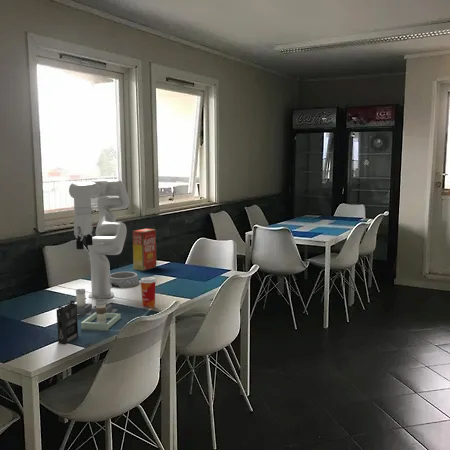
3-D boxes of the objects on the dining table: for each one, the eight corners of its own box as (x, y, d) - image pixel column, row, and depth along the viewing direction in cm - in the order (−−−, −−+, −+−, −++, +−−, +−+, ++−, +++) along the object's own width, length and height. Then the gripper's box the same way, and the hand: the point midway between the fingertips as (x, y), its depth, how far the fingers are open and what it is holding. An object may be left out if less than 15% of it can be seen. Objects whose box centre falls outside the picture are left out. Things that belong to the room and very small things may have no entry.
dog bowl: (129, 289, 277) (129, 279, 276) (100, 286, 283) (100, 277, 282) (144, 281, 293) (144, 272, 292) (117, 279, 299) (117, 270, 298)
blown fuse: (99, 321, 221) (98, 299, 220) (108, 321, 220) (107, 299, 219) (95, 324, 217) (94, 301, 216) (104, 324, 216) (103, 302, 215)
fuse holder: (74, 309, 241) (74, 301, 240) (118, 311, 237) (118, 304, 236) (64, 315, 231) (64, 308, 231) (109, 318, 227) (109, 310, 227)
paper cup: (139, 305, 246) (138, 277, 244) (154, 303, 249) (153, 275, 247) (143, 310, 239) (142, 281, 237) (158, 307, 242) (158, 279, 240)
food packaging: (143, 271, 318) (142, 231, 314) (132, 269, 323) (131, 230, 319) (157, 267, 329) (156, 229, 325) (146, 265, 334) (145, 228, 330)
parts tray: (95, 318, 226) (95, 312, 226) (120, 320, 224) (120, 313, 224) (81, 329, 213) (81, 322, 212) (108, 331, 211) (107, 324, 210)
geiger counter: (70, 334, 207) (68, 299, 204) (80, 335, 205) (78, 300, 203) (54, 343, 197) (52, 306, 195) (64, 345, 195) (62, 307, 193)
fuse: (79, 309, 237) (78, 288, 236) (87, 309, 236) (86, 288, 235) (75, 311, 233) (74, 290, 232) (83, 312, 232) (82, 291, 231)
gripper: (83, 208, 243) (85, 243, 245) (66, 213, 226) (68, 250, 229) (98, 208, 242) (99, 243, 244) (82, 213, 225) (84, 251, 227)
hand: (84, 247), depth 236 cm, fingers open, 9 cm apart
